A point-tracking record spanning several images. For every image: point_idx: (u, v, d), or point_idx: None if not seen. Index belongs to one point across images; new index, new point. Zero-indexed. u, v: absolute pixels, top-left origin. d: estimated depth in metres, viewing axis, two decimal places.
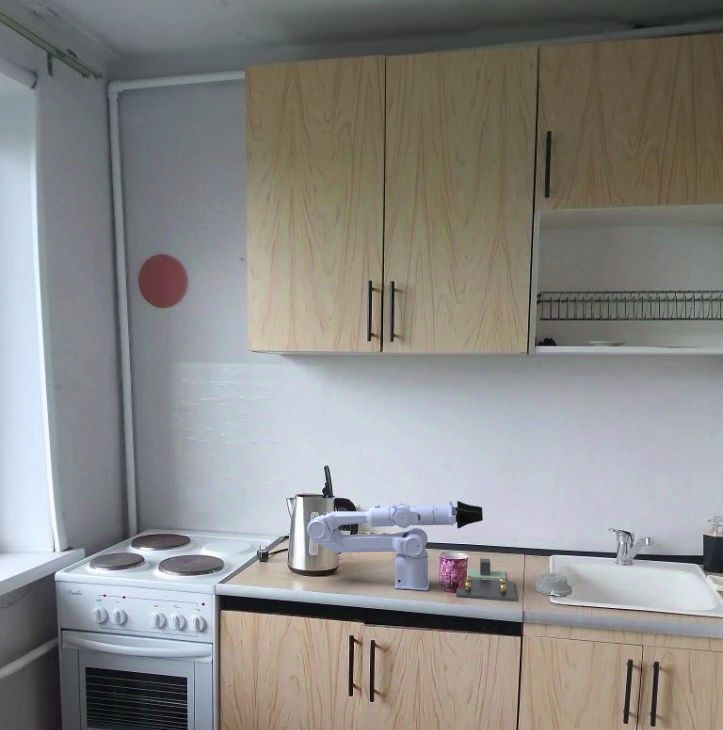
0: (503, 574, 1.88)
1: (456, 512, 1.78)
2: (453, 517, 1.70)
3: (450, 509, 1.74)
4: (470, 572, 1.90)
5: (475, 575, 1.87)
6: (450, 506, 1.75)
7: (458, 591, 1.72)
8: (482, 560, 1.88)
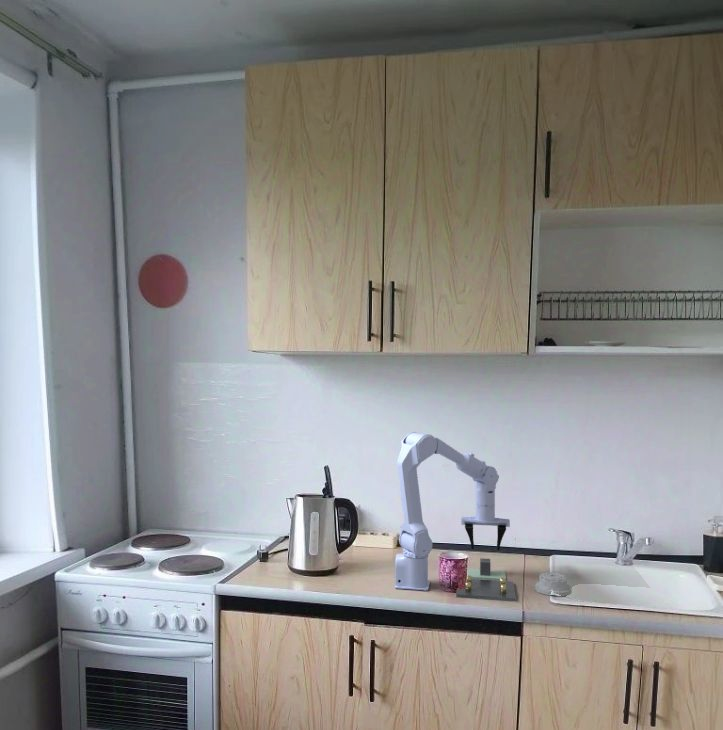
0: (503, 574, 1.88)
1: None
2: None
3: None
4: (470, 572, 1.89)
5: (475, 575, 1.87)
6: None
7: (458, 591, 1.72)
8: (482, 560, 1.88)
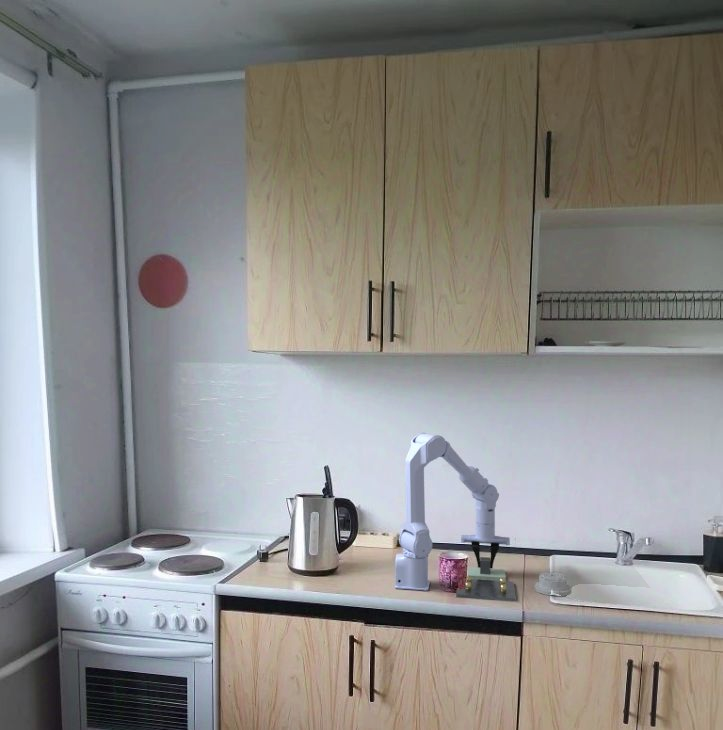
0: (503, 573, 1.88)
1: (482, 542, 1.89)
2: None
3: None
4: (470, 571, 1.90)
5: (475, 574, 1.87)
6: None
7: (458, 591, 1.72)
8: (482, 559, 1.88)
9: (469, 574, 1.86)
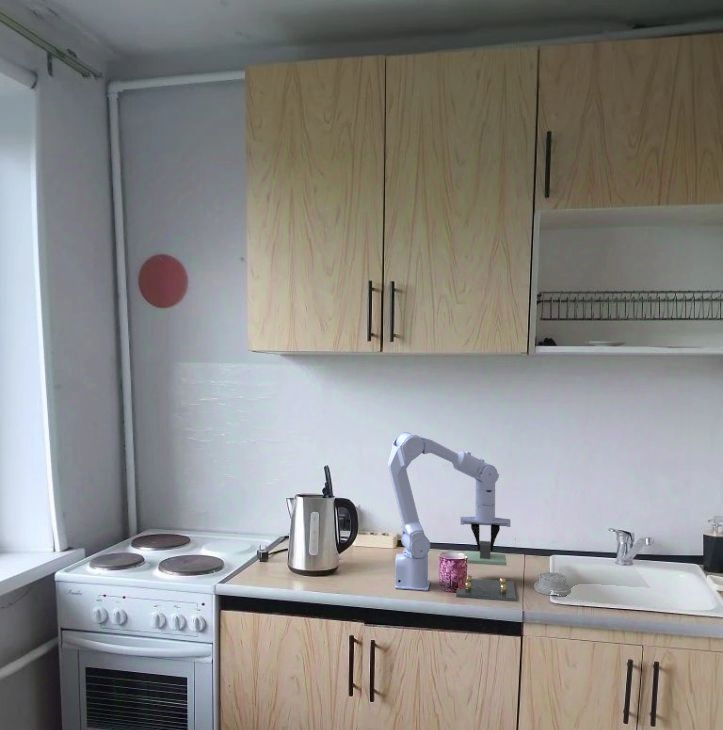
0: (503, 557, 1.82)
1: None
2: None
3: None
4: (469, 555, 1.84)
5: (475, 558, 1.81)
6: None
7: (458, 591, 1.72)
8: (482, 543, 1.83)
9: (469, 559, 1.81)
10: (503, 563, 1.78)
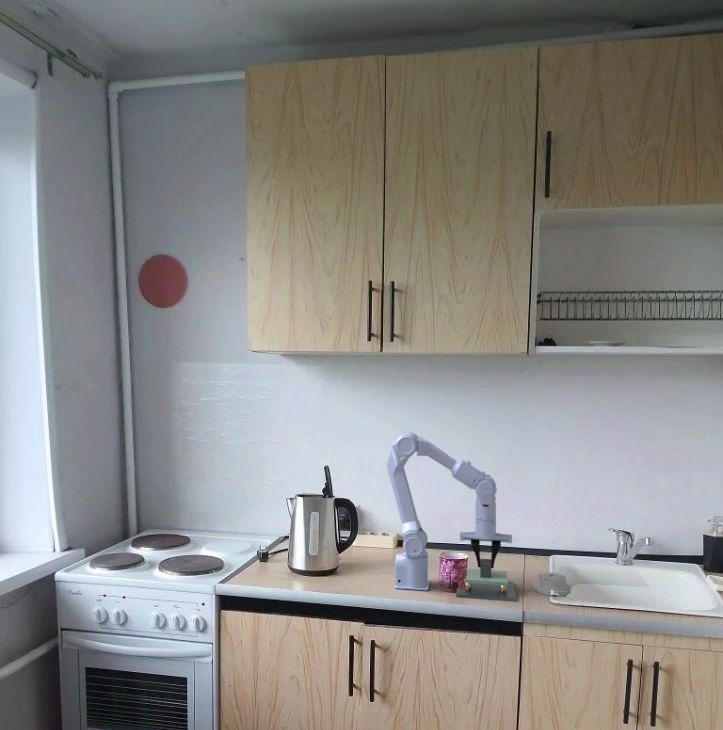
0: (505, 576, 1.75)
1: None
2: None
3: None
4: (469, 573, 1.76)
5: (475, 577, 1.74)
6: None
7: (458, 591, 1.72)
8: (482, 562, 1.75)
9: (468, 578, 1.73)
10: (504, 583, 1.70)
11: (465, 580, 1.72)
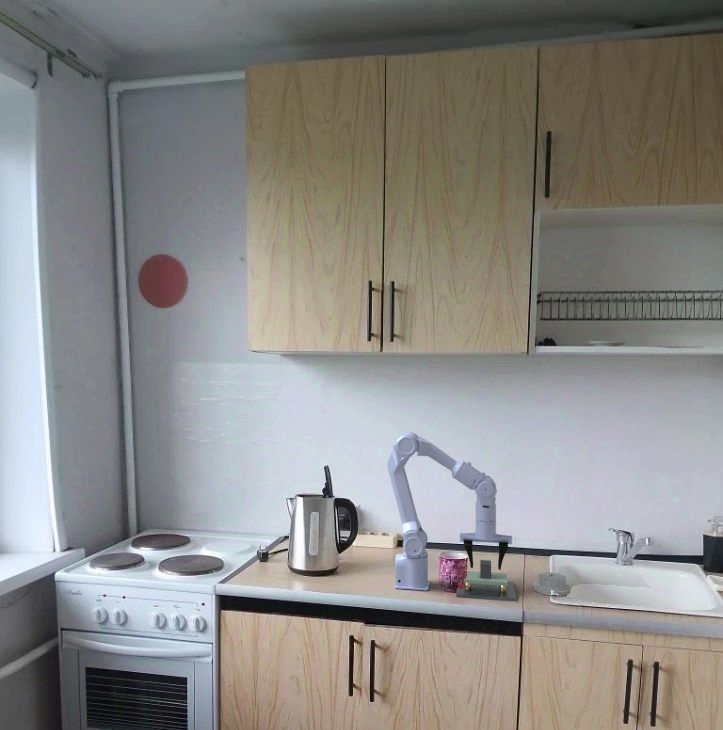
0: (505, 577, 1.75)
1: (482, 541, 1.76)
2: None
3: None
4: (469, 575, 1.76)
5: (475, 578, 1.74)
6: None
7: (458, 591, 1.72)
8: (482, 562, 1.75)
9: (468, 578, 1.73)
10: (504, 583, 1.70)
11: (465, 580, 1.73)
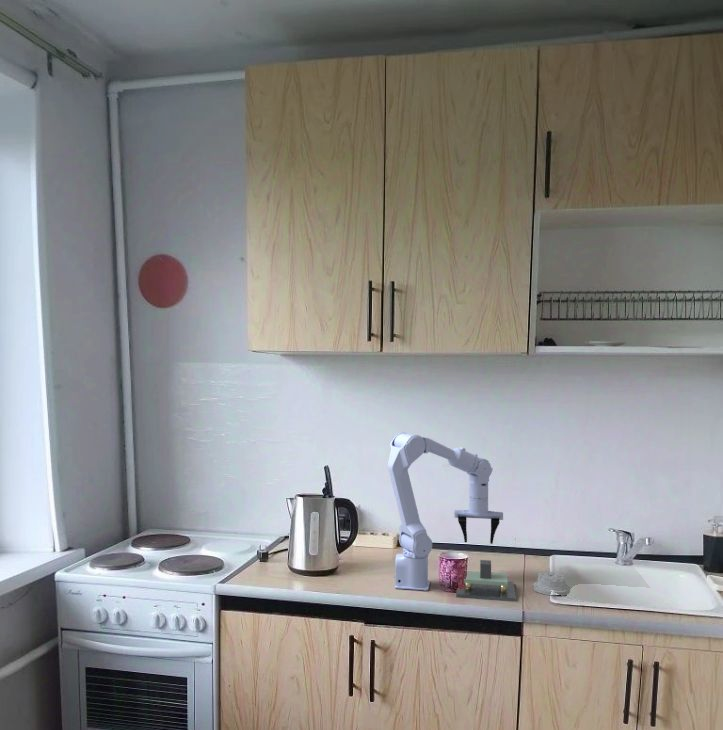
0: (505, 577, 1.75)
1: None
2: None
3: None
4: (469, 575, 1.76)
5: (475, 578, 1.74)
6: None
7: (458, 591, 1.72)
8: (482, 562, 1.75)
9: (468, 578, 1.73)
10: (504, 583, 1.70)
11: (465, 580, 1.73)
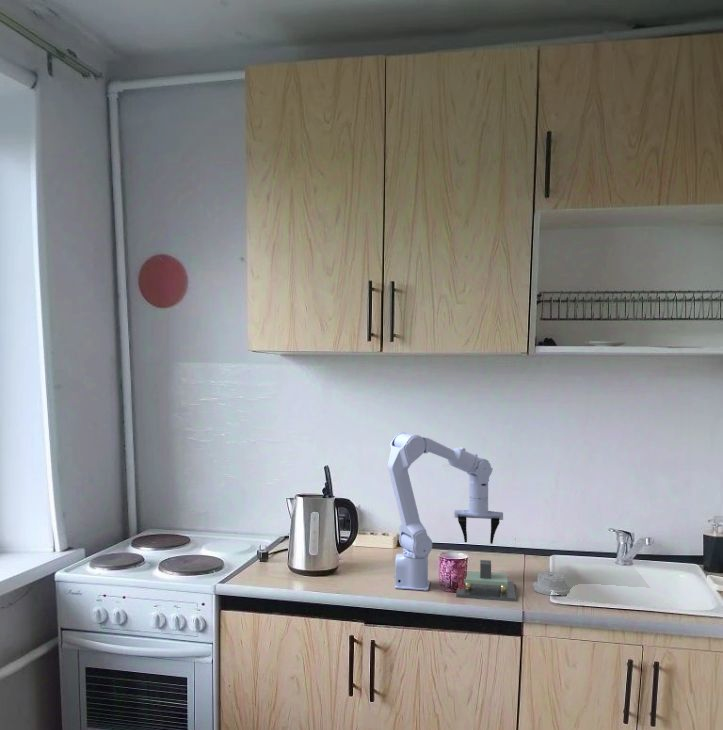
0: (505, 577, 1.75)
1: None
2: None
3: None
4: (469, 575, 1.76)
5: (475, 578, 1.74)
6: None
7: (458, 591, 1.72)
8: (482, 562, 1.75)
9: (468, 578, 1.73)
10: (504, 583, 1.70)
11: (465, 580, 1.73)
